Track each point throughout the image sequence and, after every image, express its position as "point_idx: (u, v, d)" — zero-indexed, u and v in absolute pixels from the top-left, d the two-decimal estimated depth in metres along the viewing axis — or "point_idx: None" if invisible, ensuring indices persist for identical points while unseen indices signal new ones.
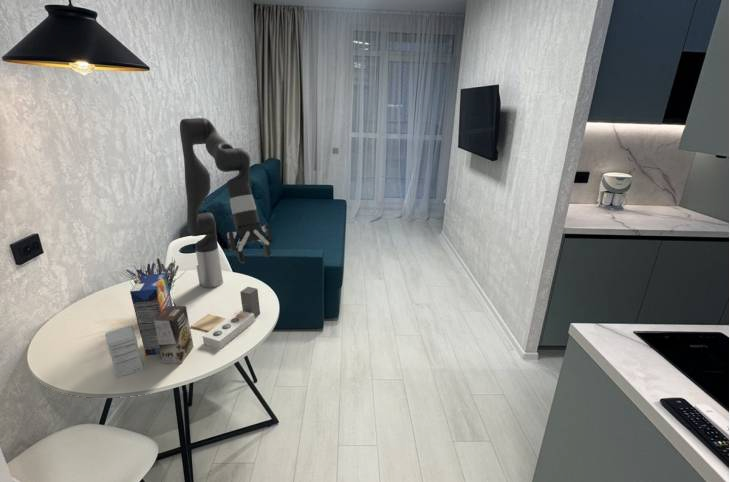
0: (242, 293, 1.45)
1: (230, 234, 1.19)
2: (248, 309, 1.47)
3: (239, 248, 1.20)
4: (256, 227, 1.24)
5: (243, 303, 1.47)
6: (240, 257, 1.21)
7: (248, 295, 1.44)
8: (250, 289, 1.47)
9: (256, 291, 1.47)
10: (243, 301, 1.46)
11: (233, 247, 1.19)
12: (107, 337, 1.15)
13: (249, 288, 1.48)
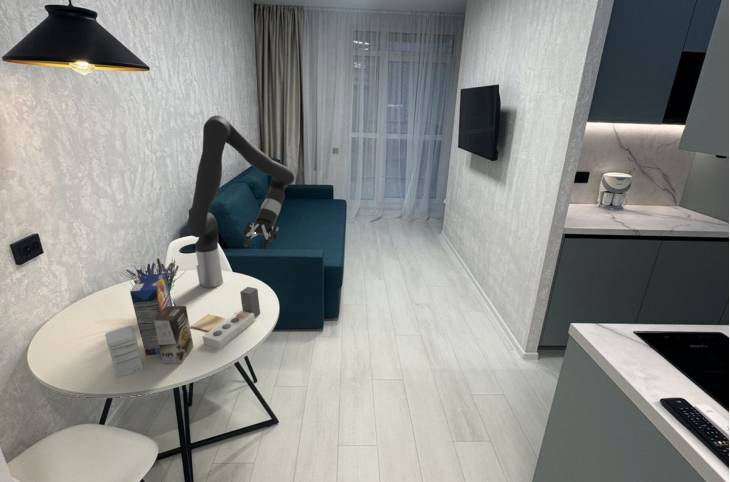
0: (242, 293, 1.45)
1: None
2: (248, 309, 1.47)
3: None
4: None
5: (243, 303, 1.47)
6: None
7: (248, 295, 1.44)
8: (250, 289, 1.47)
9: (256, 291, 1.47)
10: (243, 301, 1.46)
11: None
12: (107, 337, 1.15)
13: (249, 288, 1.48)
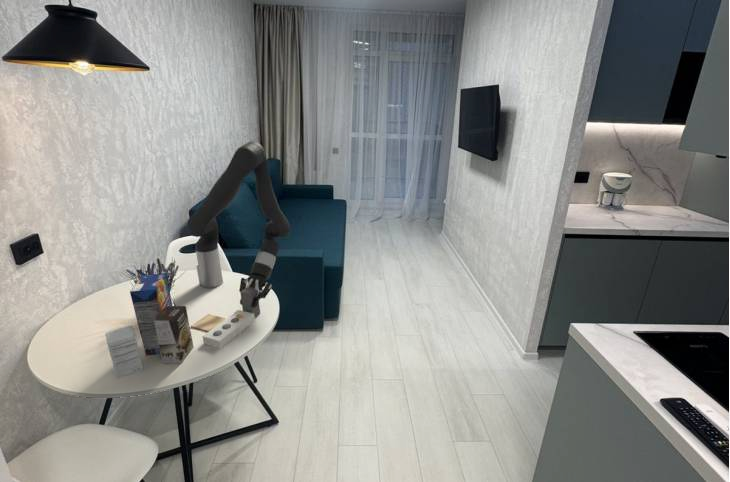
0: (242, 293, 1.45)
1: None
2: (248, 309, 1.47)
3: None
4: None
5: (243, 303, 1.47)
6: None
7: (248, 295, 1.44)
8: (250, 289, 1.47)
9: None
10: (243, 301, 1.46)
11: None
12: (107, 337, 1.15)
13: (249, 288, 1.48)
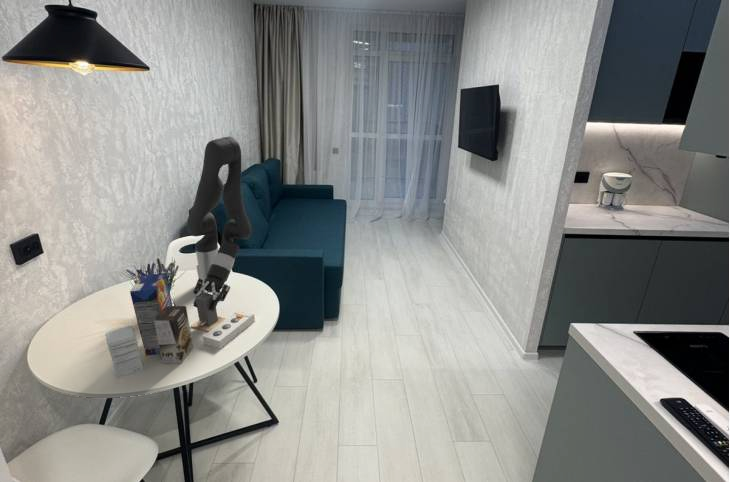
0: (197, 300, 1.40)
1: None
2: (203, 316, 1.41)
3: None
4: None
5: (199, 310, 1.41)
6: None
7: (203, 302, 1.39)
8: (206, 295, 1.41)
9: (212, 297, 1.42)
10: (198, 307, 1.41)
11: None
12: (107, 337, 1.15)
13: (206, 295, 1.42)
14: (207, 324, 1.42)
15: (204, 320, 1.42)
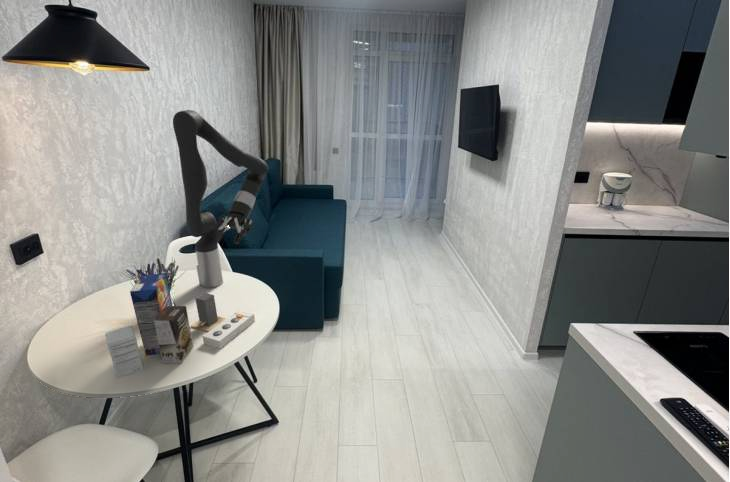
0: (197, 300, 1.40)
1: None
2: (203, 316, 1.41)
3: None
4: None
5: (199, 310, 1.41)
6: None
7: (203, 302, 1.39)
8: (206, 295, 1.41)
9: (212, 297, 1.42)
10: (198, 307, 1.41)
11: None
12: (107, 337, 1.15)
13: (206, 295, 1.42)
14: (207, 324, 1.42)
15: (204, 320, 1.42)
